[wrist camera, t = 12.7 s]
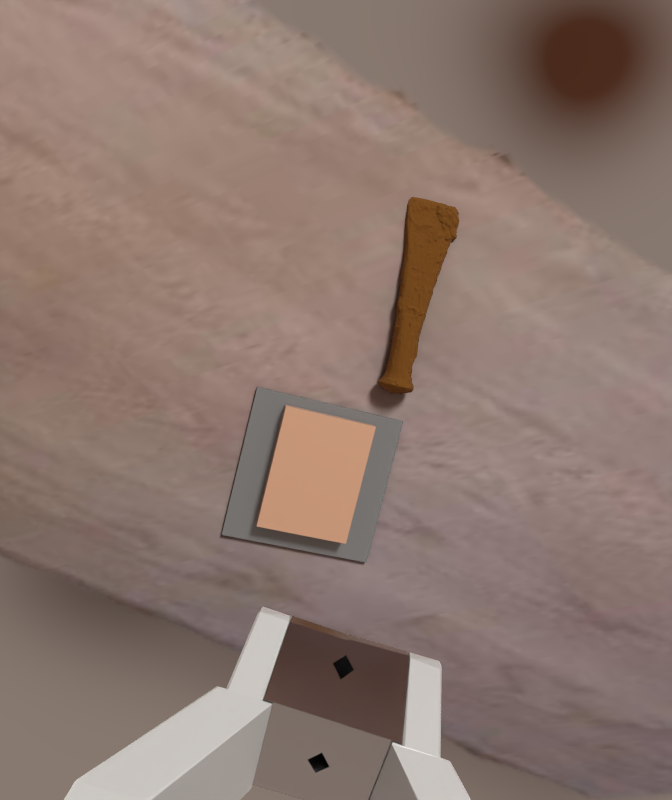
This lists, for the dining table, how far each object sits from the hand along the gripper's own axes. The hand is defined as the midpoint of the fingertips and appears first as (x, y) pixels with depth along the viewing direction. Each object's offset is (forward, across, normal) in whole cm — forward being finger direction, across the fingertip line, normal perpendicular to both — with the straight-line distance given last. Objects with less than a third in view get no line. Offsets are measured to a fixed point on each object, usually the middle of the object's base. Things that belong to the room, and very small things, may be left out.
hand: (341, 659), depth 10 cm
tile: (+39, -5, -29) cm, 49 cm away
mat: (+42, -5, -24) cm, 49 cm away
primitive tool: (+52, -1, -6) cm, 52 cm away
